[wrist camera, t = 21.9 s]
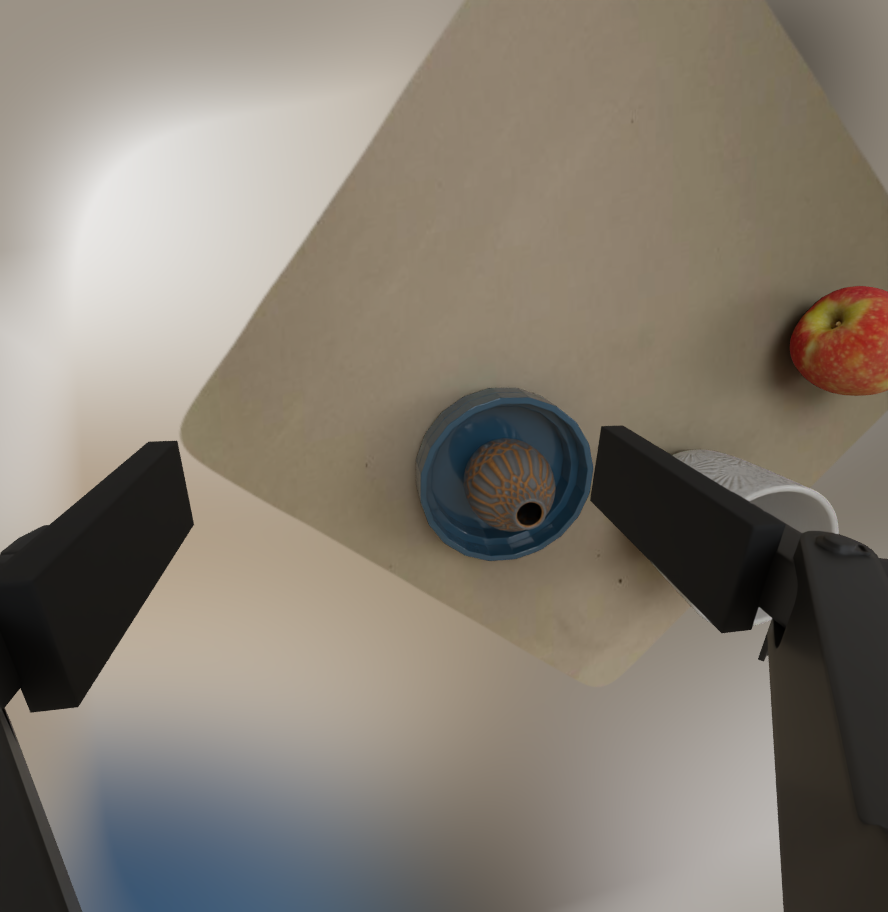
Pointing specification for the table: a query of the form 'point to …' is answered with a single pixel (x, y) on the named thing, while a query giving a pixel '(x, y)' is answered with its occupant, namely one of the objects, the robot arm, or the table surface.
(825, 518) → the planter
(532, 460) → the vase
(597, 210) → the table surface
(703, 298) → the table surface
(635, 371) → the table surface
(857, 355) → the apple
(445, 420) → the bowl
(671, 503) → the robot arm
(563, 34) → the table surface
